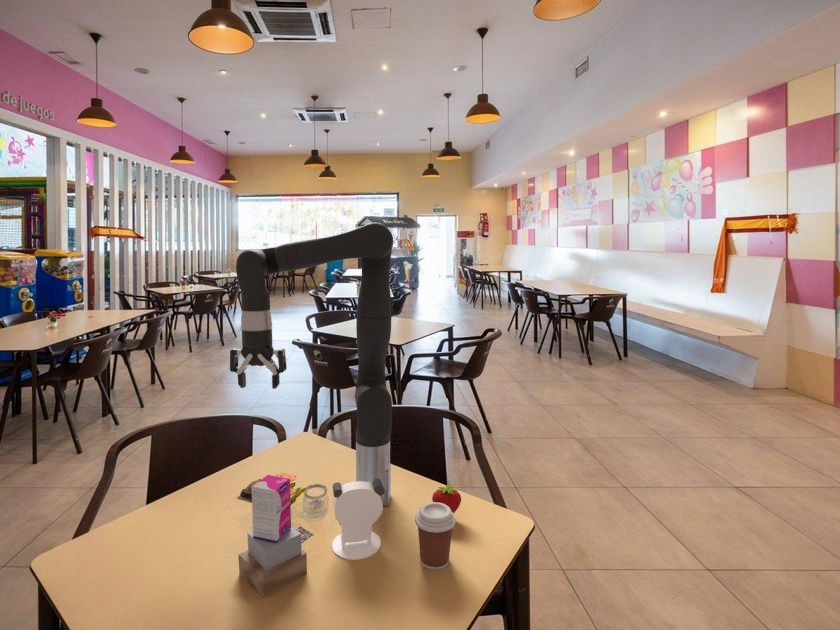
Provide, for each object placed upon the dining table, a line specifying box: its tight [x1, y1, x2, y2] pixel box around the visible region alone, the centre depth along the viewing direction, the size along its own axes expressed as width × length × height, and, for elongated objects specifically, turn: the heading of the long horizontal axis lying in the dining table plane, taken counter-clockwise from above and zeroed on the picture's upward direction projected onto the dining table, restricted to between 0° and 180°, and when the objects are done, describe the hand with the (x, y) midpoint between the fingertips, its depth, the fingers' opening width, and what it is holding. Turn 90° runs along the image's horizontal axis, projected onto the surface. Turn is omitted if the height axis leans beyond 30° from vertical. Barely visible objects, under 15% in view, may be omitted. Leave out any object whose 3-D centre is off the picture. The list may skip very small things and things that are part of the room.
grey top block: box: [247, 525, 302, 571], centre depth 101 cm, size 8×8×4 cm
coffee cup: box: [414, 501, 457, 571], centre depth 106 cm, size 9×9×12 cm
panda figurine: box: [331, 479, 385, 561], centre depth 111 cm, size 12×11×15 cm
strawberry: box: [431, 481, 462, 514], centre depth 123 cm, size 6×8×10 cm
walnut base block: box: [238, 548, 308, 599], centre depth 101 cm, size 10×10×5 cm
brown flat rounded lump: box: [237, 478, 262, 503], centre depth 135 cm, size 11×8×4 cm
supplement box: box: [251, 474, 292, 543], centre depth 99 cm, size 6×6×12 cm
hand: (259, 387), depth 126 cm, fingers open, 8 cm apart
